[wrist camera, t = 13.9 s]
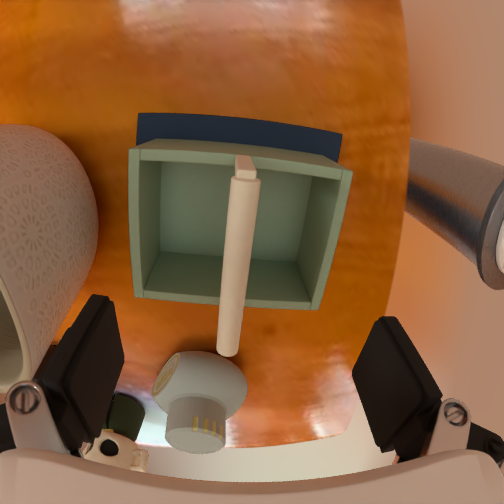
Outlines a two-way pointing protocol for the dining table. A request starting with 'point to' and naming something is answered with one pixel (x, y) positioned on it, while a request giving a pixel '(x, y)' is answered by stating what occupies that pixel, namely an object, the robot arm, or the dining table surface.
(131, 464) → the character mug
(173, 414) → the air freshener
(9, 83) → the dining table surface
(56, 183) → the planter
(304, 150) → the mat
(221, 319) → the box
